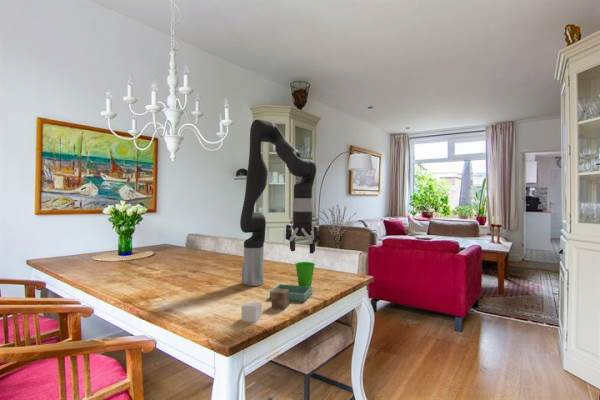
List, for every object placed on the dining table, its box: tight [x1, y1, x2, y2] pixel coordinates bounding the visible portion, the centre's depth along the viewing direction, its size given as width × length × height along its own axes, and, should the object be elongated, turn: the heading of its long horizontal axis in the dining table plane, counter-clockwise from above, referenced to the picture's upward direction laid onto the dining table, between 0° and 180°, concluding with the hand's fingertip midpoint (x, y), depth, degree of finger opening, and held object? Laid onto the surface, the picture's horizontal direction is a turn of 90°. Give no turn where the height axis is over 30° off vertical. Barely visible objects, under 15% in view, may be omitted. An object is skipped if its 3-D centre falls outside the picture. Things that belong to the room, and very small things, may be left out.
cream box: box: [241, 300, 263, 323], centre depth 107 cm, size 5×5×5 cm
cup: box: [294, 261, 316, 287], centre depth 143 cm, size 9×9×11 cm
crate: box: [269, 283, 313, 303], centre depth 132 cm, size 14×11×3 cm
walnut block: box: [271, 288, 290, 311], centre depth 119 cm, size 5×5×6 cm
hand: (302, 252), depth 124 cm, fingers open, 8 cm apart
